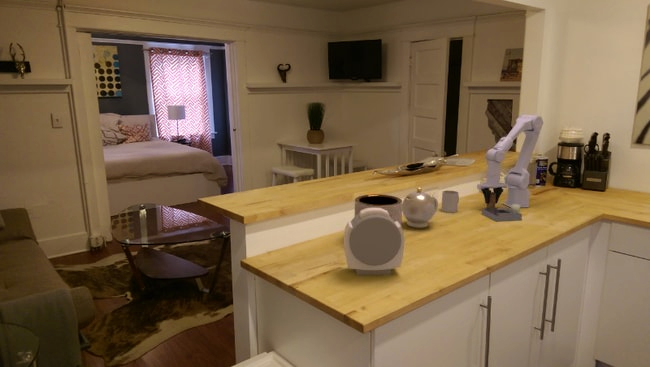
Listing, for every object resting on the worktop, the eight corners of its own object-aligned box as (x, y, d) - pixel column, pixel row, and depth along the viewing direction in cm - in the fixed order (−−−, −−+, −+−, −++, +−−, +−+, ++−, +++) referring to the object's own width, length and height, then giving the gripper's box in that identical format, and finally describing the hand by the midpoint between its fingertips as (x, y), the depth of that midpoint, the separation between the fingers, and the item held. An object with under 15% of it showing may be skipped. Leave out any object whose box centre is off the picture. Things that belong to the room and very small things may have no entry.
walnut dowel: (492, 208, 210) (493, 192, 209) (496, 210, 207) (497, 193, 205) (485, 208, 210) (486, 192, 208) (489, 210, 206) (490, 194, 204)
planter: (363, 250, 156) (364, 207, 153) (347, 234, 173) (348, 195, 170) (409, 245, 161) (411, 203, 158) (389, 230, 178) (390, 192, 174)
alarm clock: (398, 265, 143) (401, 205, 138) (404, 276, 134) (406, 212, 130) (343, 266, 142) (343, 205, 138) (345, 277, 134) (346, 213, 130)
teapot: (414, 233, 174) (416, 192, 171) (393, 224, 186) (394, 186, 182) (448, 226, 183) (450, 187, 180) (425, 218, 195) (427, 181, 191)
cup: (438, 210, 207) (439, 192, 205) (451, 207, 213) (452, 188, 211) (451, 213, 201) (452, 194, 199) (464, 210, 207) (465, 191, 205)
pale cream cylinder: (516, 212, 204) (517, 203, 203) (521, 214, 200) (521, 205, 200) (509, 212, 203) (510, 204, 202) (513, 214, 200) (514, 206, 199)
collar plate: (505, 212, 203) (506, 207, 203) (521, 220, 192) (522, 214, 191) (481, 213, 201) (482, 208, 201) (496, 221, 190) (496, 215, 189)
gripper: (502, 172, 210) (500, 200, 213) (474, 173, 207) (472, 201, 210) (511, 175, 203) (508, 204, 206) (482, 176, 200) (480, 205, 203)
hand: (491, 203), depth 208 cm, fingers closed on walnut dowel, 4 cm apart
